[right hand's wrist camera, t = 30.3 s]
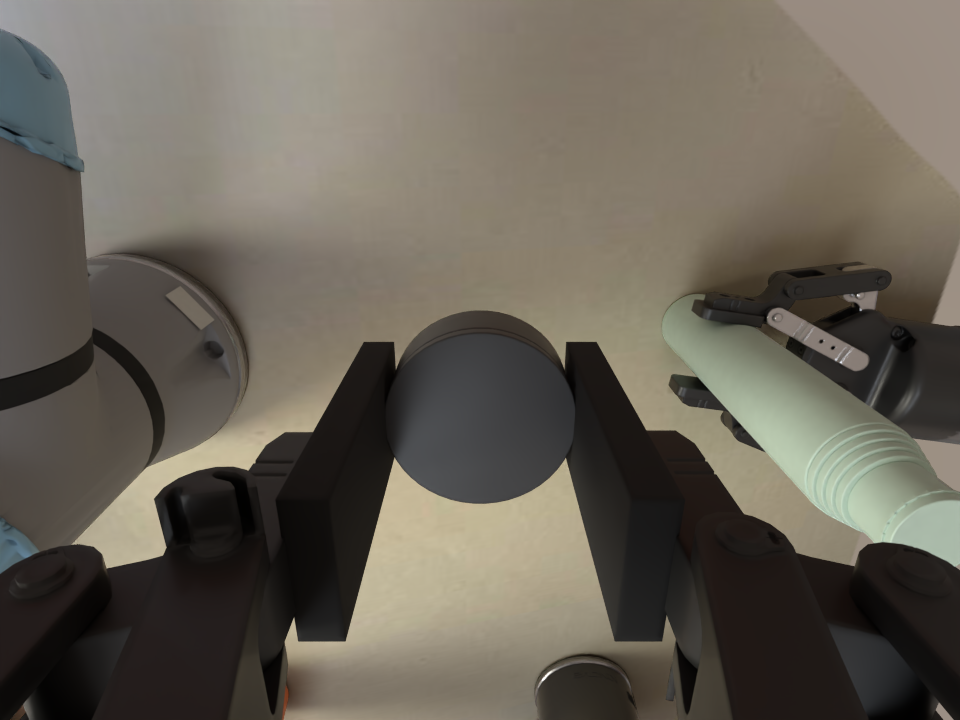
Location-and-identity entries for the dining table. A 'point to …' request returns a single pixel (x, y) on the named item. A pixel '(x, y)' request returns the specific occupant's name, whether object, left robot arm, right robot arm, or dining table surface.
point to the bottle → (820, 434)
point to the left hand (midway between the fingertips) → (685, 348)
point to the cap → (480, 408)
